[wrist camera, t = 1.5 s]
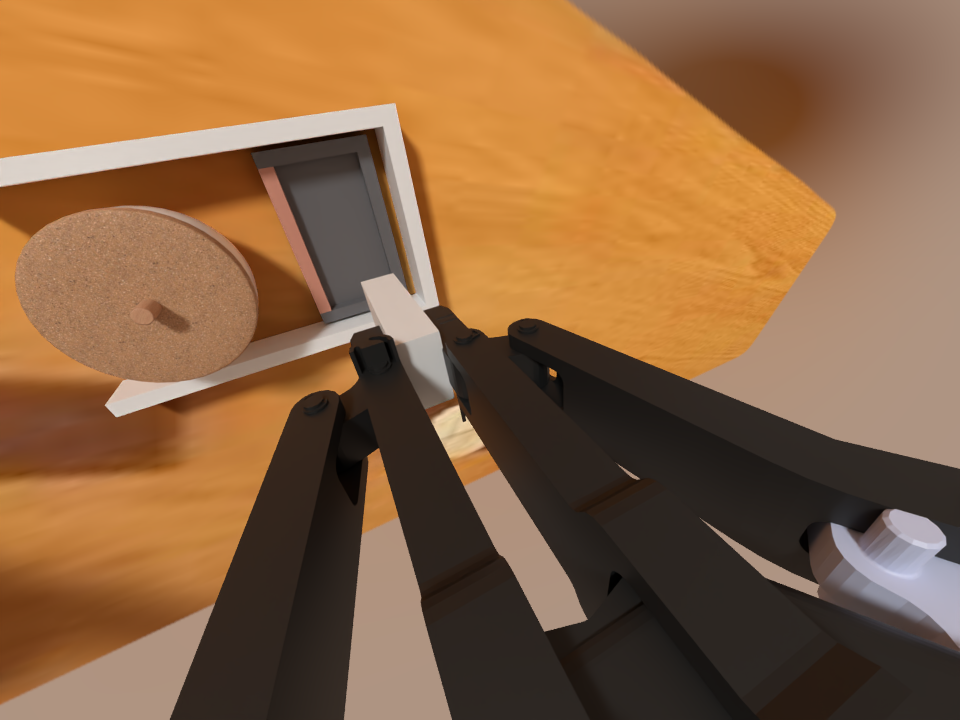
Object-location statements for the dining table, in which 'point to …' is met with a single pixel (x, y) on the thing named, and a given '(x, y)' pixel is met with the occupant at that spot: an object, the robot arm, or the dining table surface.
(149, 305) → the lidded jar
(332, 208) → the tray
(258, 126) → the channel
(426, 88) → the dining table surface
